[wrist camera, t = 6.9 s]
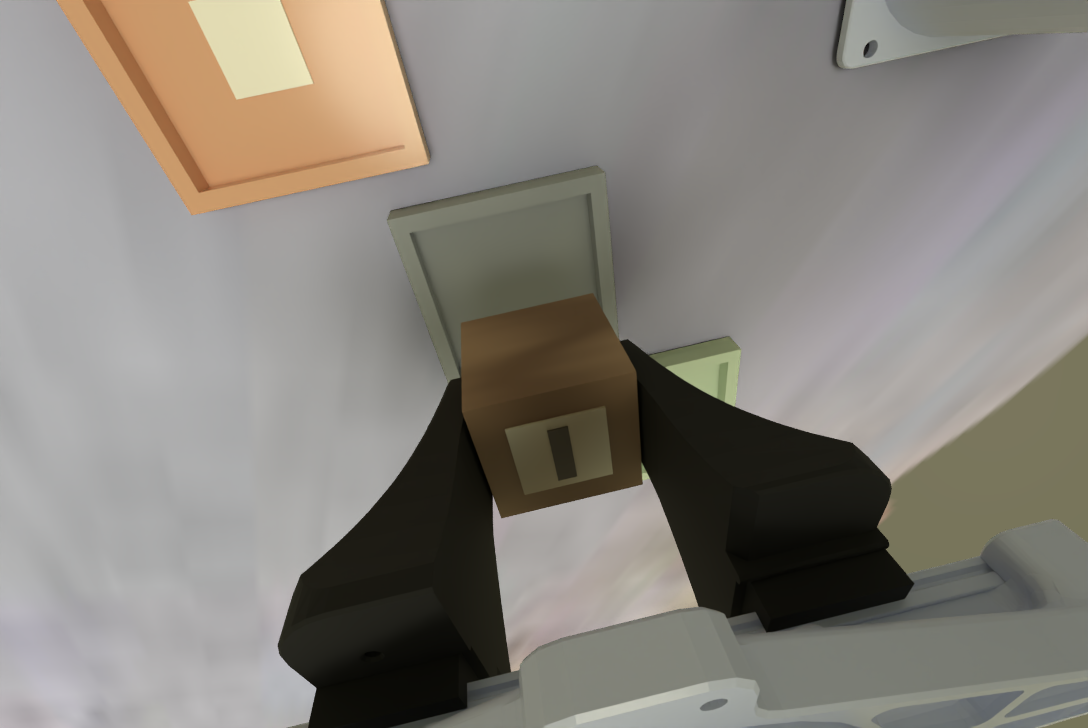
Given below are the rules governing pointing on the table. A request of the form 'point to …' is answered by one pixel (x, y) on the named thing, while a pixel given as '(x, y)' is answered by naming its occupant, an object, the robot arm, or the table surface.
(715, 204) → the table surface
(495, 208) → the slate dish
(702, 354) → the sage dish
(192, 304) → the table surface
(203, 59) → the terracotta dish
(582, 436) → the letter cube
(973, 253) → the table surface
